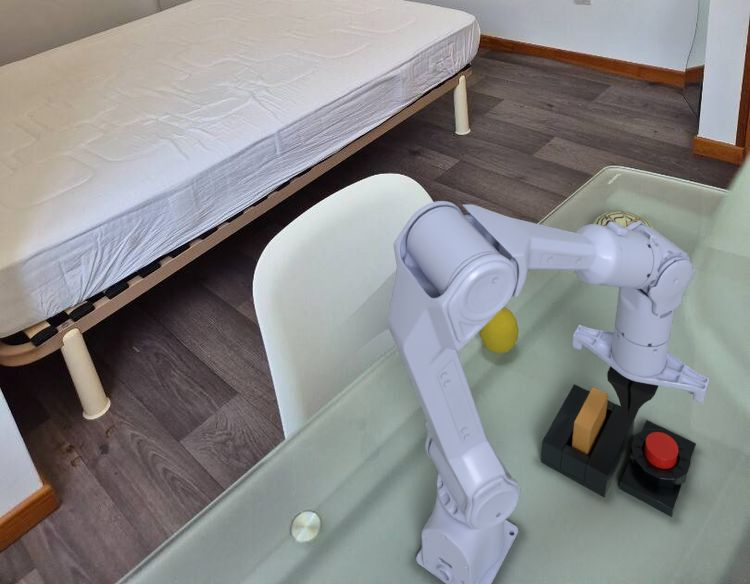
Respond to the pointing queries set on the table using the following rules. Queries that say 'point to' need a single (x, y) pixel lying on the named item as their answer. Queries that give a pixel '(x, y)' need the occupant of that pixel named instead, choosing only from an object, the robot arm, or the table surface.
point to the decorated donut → (620, 219)
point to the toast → (590, 422)
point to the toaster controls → (656, 472)
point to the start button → (661, 450)
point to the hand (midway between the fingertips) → (630, 411)
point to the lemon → (500, 332)
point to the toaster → (606, 453)
